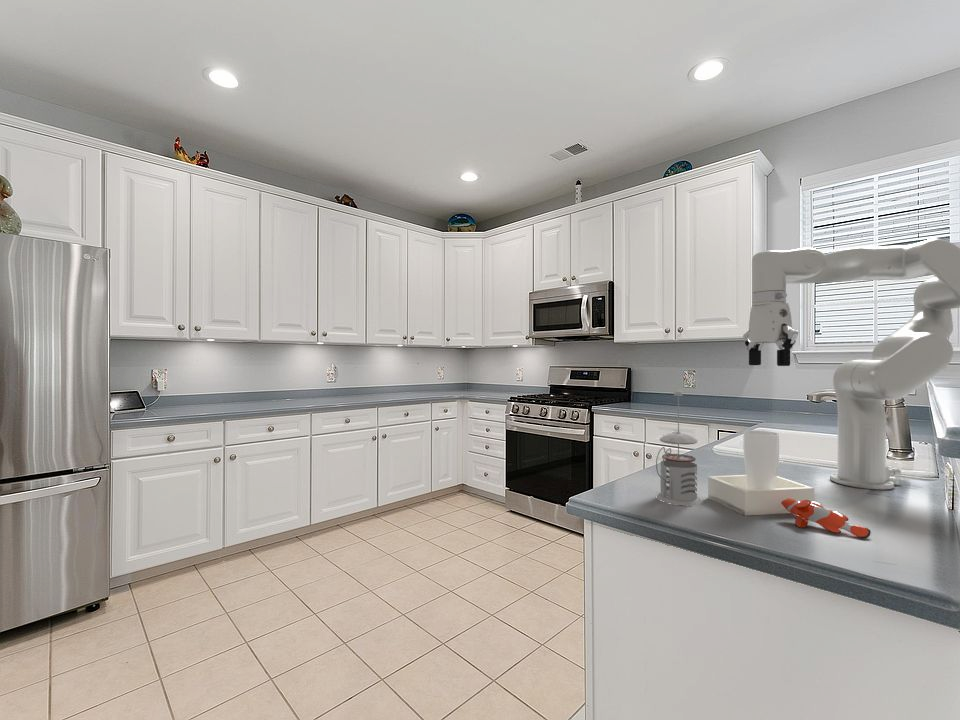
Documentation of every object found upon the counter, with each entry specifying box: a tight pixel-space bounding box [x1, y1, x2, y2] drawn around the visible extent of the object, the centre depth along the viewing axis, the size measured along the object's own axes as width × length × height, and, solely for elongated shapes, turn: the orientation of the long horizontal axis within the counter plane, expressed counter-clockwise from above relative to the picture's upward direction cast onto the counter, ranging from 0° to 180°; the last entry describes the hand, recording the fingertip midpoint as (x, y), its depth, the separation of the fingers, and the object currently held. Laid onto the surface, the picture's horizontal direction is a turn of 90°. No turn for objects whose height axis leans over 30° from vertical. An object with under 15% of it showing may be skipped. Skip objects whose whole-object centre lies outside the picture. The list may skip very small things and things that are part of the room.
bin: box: [707, 474, 815, 517], centre depth 101 cm, size 16×12×5 cm
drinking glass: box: [742, 429, 780, 490], centre depth 101 cm, size 7×7×15 cm
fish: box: [781, 498, 872, 540], centre depth 87 cm, size 13×5×9 cm
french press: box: [655, 390, 703, 507], centre depth 105 cm, size 10×12×25 cm
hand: (768, 365), depth 119 cm, fingers open, 9 cm apart
